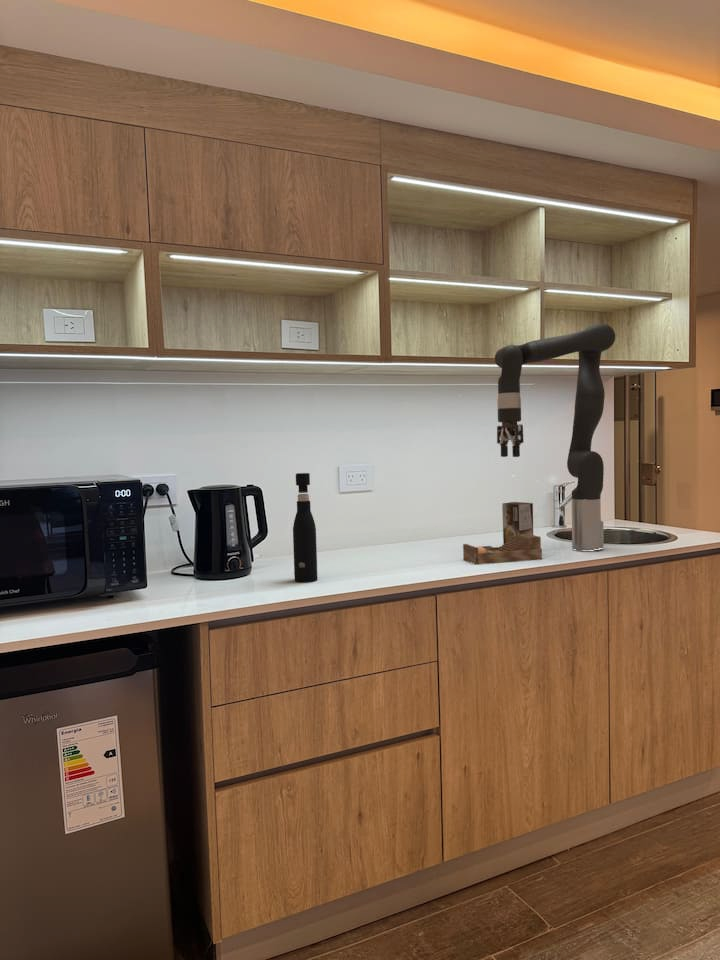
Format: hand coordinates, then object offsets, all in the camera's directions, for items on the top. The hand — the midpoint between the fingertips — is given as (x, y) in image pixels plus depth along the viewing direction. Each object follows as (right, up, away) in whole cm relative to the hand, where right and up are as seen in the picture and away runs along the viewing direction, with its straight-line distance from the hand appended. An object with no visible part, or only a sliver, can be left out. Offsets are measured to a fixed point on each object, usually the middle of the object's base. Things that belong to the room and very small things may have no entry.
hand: (510, 456), depth 222 cm
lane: (-5, -33, -9) cm, 34 cm away
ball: (-12, -33, -11) cm, 37 cm away
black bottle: (-65, -36, -33) cm, 81 cm away
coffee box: (+5, -32, +10) cm, 34 cm away
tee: (-7, -32, +2) cm, 33 cm away
